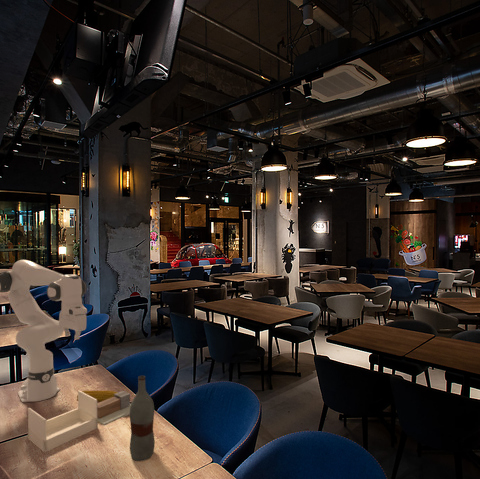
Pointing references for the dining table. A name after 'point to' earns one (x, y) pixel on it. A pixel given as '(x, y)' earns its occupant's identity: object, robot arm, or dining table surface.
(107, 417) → the board
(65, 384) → the dining table surface
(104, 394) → the food
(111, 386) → the dining table surface
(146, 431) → the bottle
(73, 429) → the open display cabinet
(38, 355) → the robot arm
